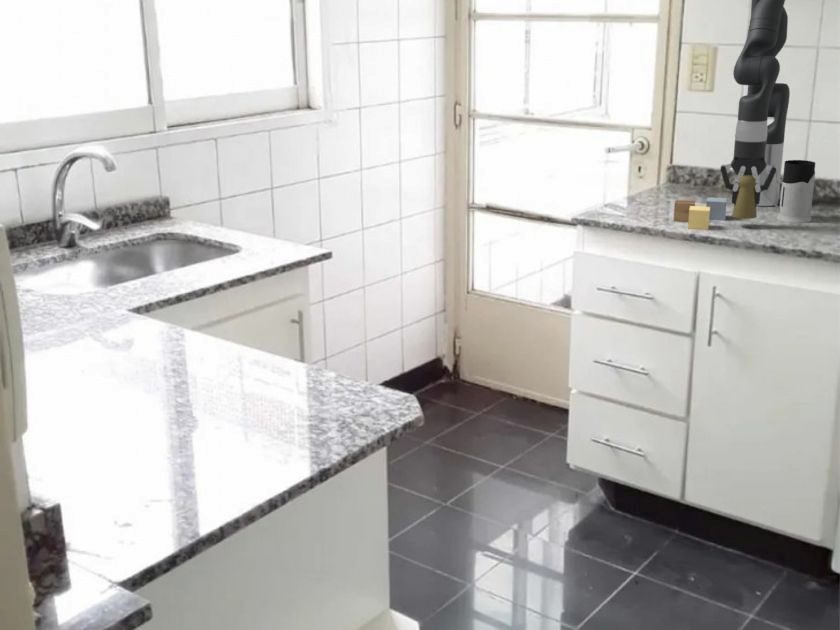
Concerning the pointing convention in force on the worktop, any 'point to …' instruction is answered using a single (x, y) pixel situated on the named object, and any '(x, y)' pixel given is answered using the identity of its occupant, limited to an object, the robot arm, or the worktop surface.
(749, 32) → the robot arm
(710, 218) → the slate block
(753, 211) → the cork
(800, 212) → the glass holder
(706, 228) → the mustard block
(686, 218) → the walnut block
